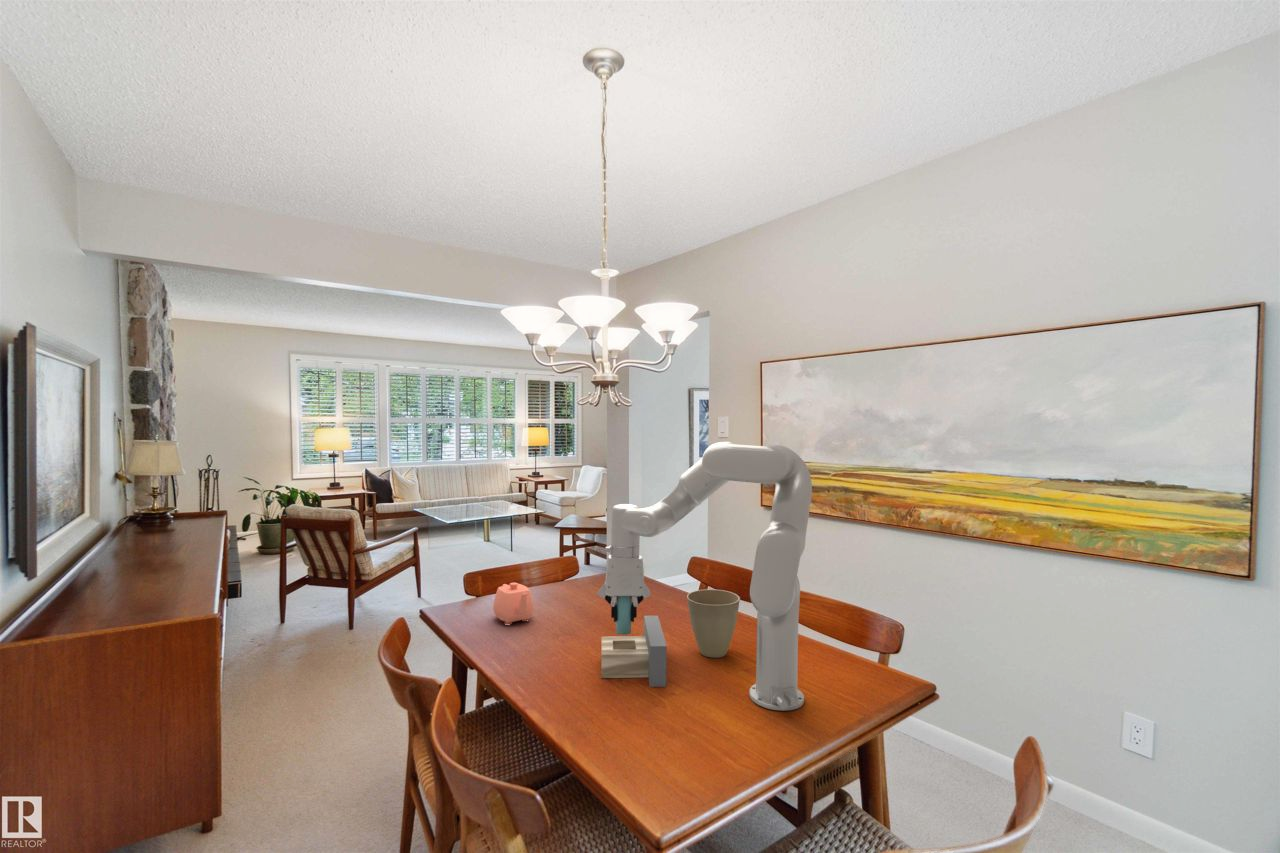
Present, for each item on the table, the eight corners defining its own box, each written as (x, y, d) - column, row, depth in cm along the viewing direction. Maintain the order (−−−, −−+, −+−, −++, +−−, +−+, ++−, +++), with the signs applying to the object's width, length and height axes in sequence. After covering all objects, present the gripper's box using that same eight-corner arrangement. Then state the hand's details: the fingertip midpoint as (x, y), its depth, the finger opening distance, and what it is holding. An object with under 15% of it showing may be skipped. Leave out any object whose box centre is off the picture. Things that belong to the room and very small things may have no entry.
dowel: (631, 634, 147) (632, 596, 147) (616, 634, 147) (616, 596, 146) (630, 629, 151) (631, 592, 151) (615, 629, 151) (616, 592, 150)
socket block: (648, 677, 143) (648, 653, 143) (601, 678, 142) (601, 654, 142) (644, 657, 155) (645, 636, 155) (601, 658, 154) (601, 636, 154)
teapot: (485, 615, 188) (486, 579, 188) (519, 608, 195) (519, 574, 195) (508, 633, 172) (509, 594, 172) (544, 626, 178) (544, 588, 178)
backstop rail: (666, 686, 138) (666, 646, 138) (650, 686, 138) (650, 646, 138) (657, 650, 160) (657, 615, 160) (643, 650, 160) (643, 615, 160)
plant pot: (724, 639, 169) (724, 587, 169) (748, 659, 155) (749, 602, 155) (678, 645, 164) (678, 591, 164) (699, 666, 150) (700, 607, 150)
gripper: (593, 554, 144) (591, 625, 144) (657, 554, 145) (656, 625, 145) (593, 547, 152) (592, 615, 152) (655, 548, 153) (653, 615, 153)
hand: (623, 619), depth 149 cm, fingers closed on dowel, 4 cm apart
